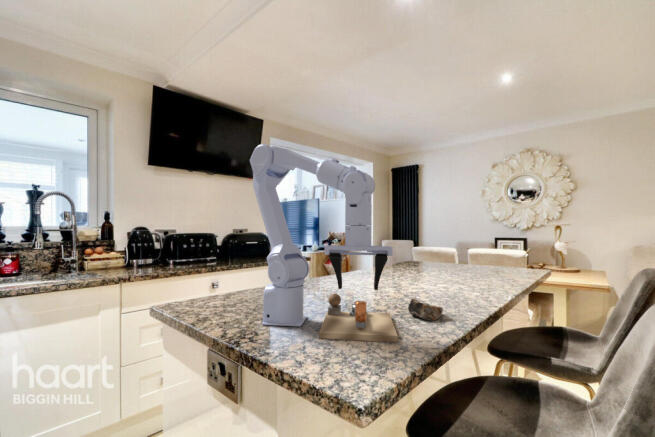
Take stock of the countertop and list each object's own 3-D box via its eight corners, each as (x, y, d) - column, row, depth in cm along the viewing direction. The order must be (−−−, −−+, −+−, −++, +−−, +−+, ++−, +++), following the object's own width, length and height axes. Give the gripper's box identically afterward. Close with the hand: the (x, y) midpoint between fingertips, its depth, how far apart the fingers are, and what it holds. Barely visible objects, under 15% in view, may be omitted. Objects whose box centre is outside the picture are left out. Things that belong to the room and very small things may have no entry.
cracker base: (319, 338, 61) (319, 308, 61) (327, 315, 77) (327, 291, 77) (397, 342, 59) (397, 311, 59) (389, 317, 75) (389, 293, 75)
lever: (351, 306, 79) (351, 287, 79) (363, 306, 79) (363, 287, 79) (353, 327, 62) (353, 303, 62) (368, 328, 61) (368, 303, 62)
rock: (430, 325, 70) (454, 311, 76) (422, 301, 71) (446, 289, 77) (404, 324, 78) (428, 311, 83) (397, 302, 78) (422, 291, 84)
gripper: (323, 225, 60) (322, 291, 60) (394, 226, 59) (394, 293, 58) (326, 225, 67) (326, 284, 67) (390, 226, 66) (390, 286, 65)
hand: (357, 288), depth 63 cm, fingers open, 7 cm apart
